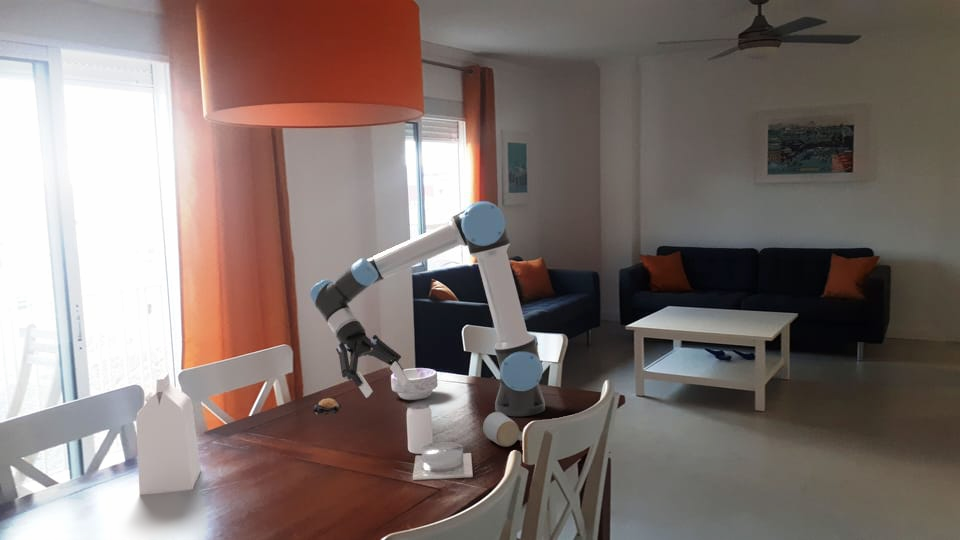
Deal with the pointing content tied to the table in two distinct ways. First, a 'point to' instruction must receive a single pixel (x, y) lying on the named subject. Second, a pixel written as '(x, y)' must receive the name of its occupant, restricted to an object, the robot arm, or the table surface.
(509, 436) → the ceramic mug
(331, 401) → the toy turtle
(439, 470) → the duct collar
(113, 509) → the table surface
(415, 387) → the white bowl
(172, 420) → the milk
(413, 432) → the can
